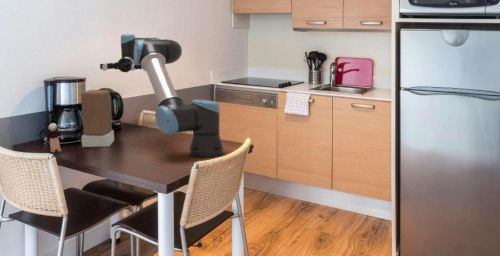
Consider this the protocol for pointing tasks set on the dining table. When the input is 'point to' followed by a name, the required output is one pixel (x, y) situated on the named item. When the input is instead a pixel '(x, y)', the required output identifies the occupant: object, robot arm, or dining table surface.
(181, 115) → the robot arm
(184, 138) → the dining table surface
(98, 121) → the wooden block
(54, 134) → the grandmother figurine
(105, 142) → the base brick
